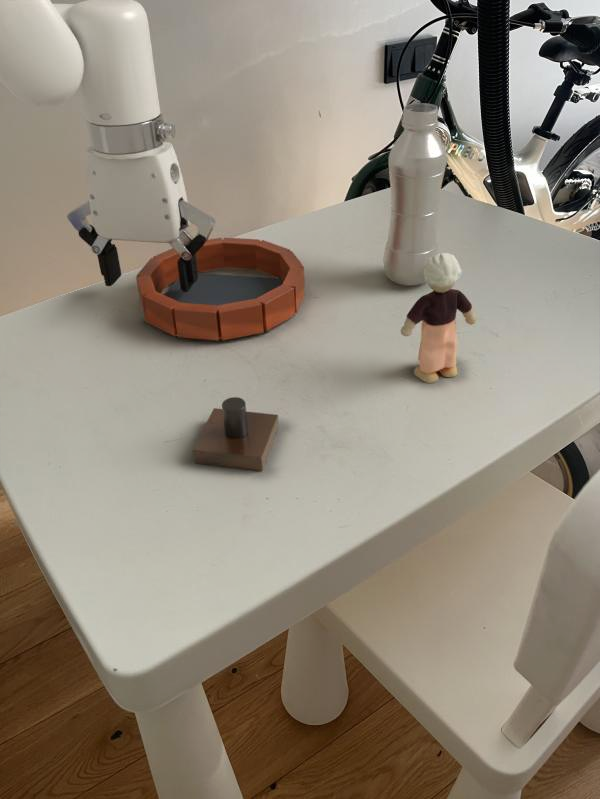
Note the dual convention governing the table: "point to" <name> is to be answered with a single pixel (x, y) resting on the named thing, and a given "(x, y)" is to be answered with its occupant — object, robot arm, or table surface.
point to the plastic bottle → (414, 195)
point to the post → (236, 437)
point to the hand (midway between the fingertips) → (150, 283)
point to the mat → (223, 289)
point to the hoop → (226, 317)
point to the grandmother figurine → (438, 318)
